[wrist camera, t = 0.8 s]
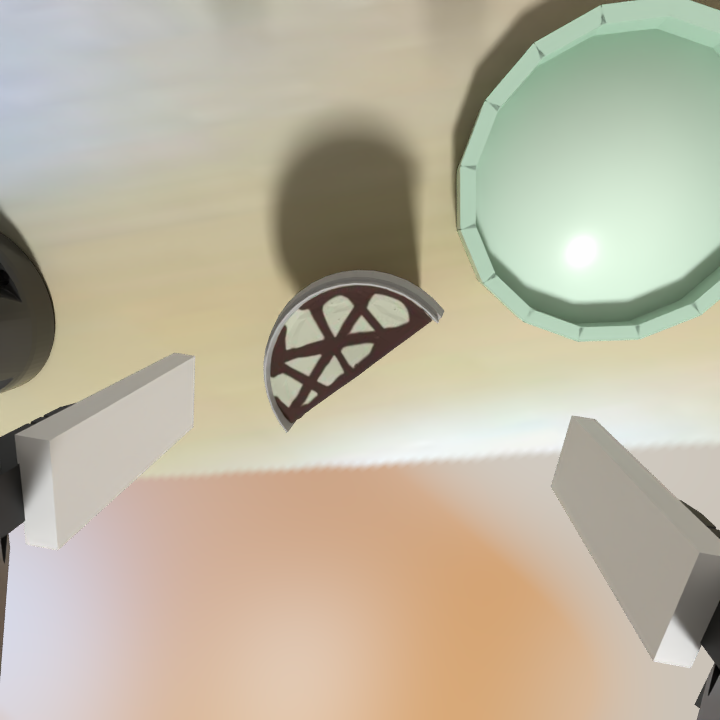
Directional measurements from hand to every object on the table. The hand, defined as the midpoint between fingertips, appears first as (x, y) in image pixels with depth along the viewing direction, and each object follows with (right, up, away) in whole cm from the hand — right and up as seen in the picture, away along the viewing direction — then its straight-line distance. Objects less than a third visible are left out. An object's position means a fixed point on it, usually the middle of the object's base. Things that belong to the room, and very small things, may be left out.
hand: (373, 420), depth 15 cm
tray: (+16, +14, +15) cm, 26 cm away
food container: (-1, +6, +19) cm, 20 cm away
